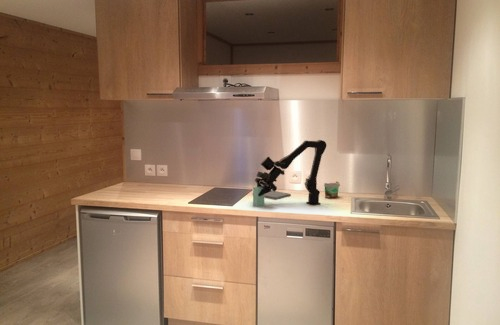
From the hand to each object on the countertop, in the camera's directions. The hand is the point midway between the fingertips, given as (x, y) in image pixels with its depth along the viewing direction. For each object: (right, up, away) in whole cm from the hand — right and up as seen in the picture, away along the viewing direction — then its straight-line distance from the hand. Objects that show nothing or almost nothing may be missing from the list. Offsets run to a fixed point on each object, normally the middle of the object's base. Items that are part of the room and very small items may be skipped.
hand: (256, 194), depth 227 cm
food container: (+51, -4, +24) cm, 57 cm away
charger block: (+1, -7, +1) cm, 7 cm away
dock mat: (+11, -3, +29) cm, 31 cm away
